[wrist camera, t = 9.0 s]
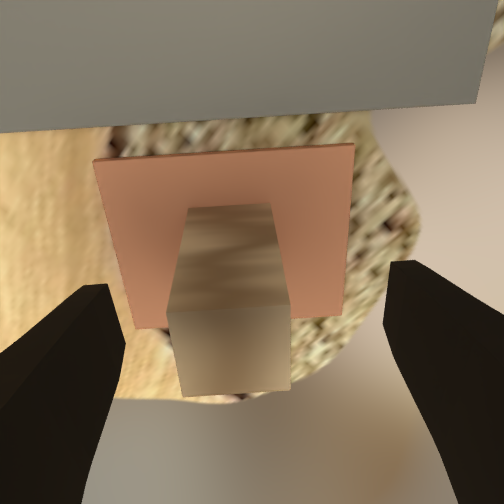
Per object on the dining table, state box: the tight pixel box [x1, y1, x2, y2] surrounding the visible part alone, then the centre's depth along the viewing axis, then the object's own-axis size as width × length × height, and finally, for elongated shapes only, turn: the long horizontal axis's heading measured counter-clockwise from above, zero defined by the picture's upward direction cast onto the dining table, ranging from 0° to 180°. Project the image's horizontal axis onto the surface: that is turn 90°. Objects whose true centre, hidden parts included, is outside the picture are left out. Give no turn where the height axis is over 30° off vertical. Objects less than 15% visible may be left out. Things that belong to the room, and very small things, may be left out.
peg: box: [166, 203, 291, 397], centre depth 18 cm, size 4×4×8 cm
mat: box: [92, 143, 355, 329], centre depth 21 cm, size 12×10×1 cm
